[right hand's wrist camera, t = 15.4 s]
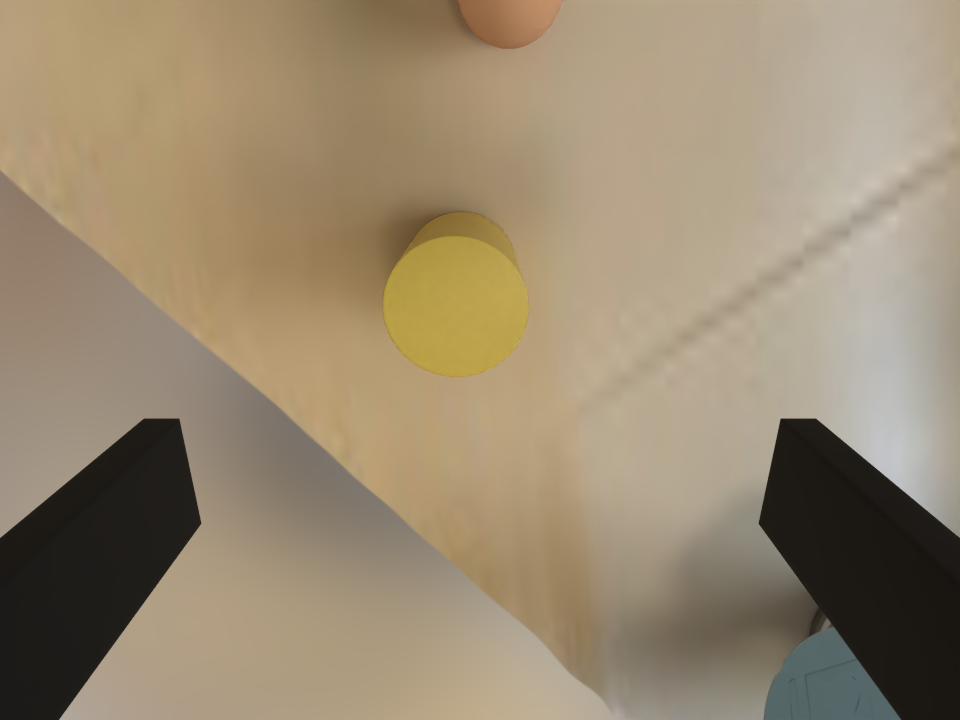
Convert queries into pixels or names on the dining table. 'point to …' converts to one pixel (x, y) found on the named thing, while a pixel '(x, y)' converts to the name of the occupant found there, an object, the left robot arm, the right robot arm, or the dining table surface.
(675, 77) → the dining table surface
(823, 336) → the dining table surface
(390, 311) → the can
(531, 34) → the egg
